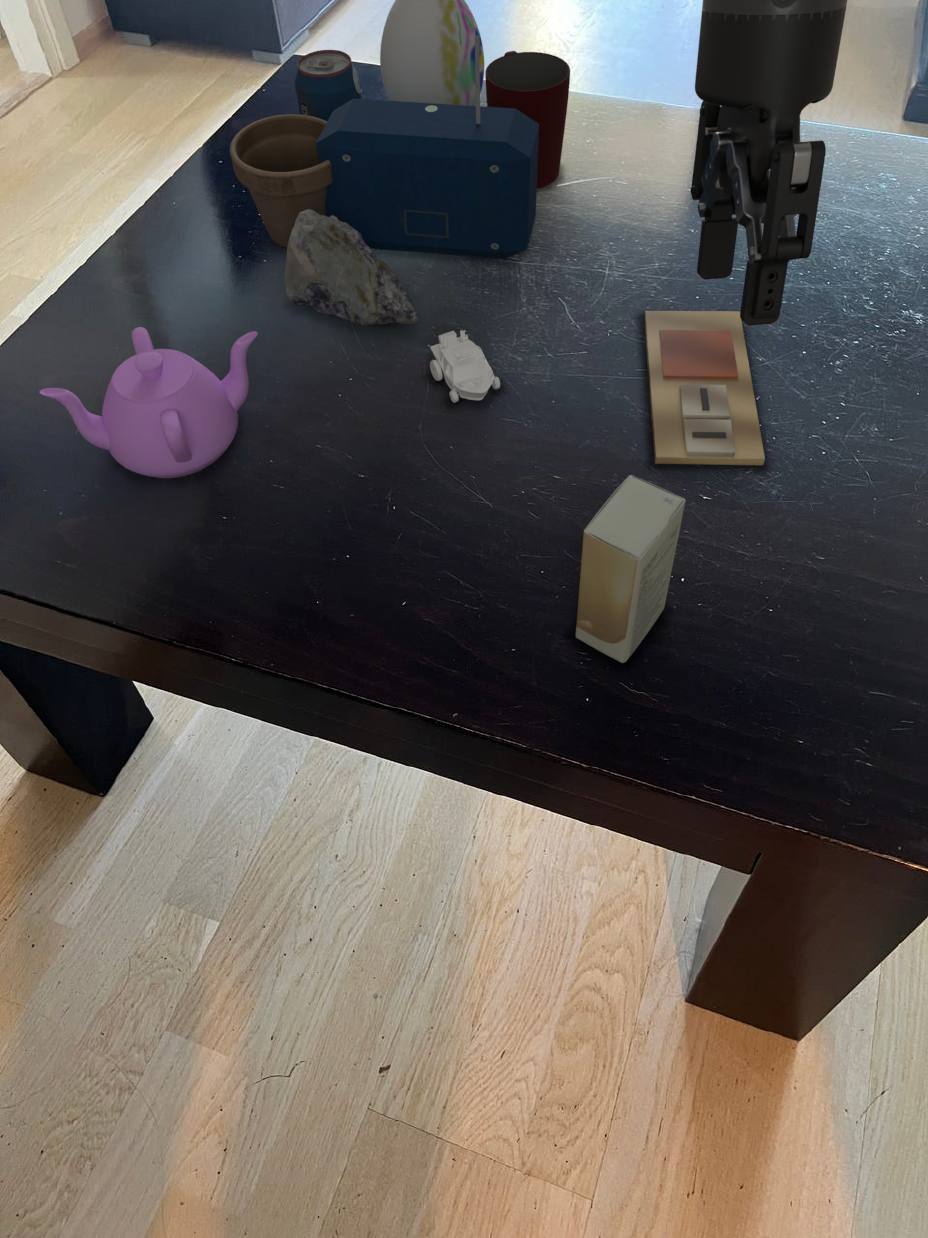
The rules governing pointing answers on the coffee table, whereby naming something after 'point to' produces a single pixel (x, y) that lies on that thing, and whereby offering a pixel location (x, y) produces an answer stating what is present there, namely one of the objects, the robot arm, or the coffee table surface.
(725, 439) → the word board
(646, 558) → the cosmetic box
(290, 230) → the flower pot
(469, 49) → the decorative egg
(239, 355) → the teapot
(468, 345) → the toy car
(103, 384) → the coffee table surface
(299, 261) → the mineral rock
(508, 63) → the mug
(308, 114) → the soda can
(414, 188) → the radio
